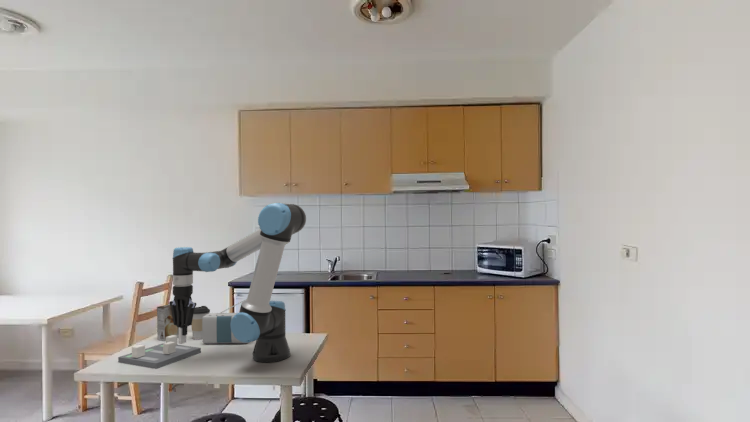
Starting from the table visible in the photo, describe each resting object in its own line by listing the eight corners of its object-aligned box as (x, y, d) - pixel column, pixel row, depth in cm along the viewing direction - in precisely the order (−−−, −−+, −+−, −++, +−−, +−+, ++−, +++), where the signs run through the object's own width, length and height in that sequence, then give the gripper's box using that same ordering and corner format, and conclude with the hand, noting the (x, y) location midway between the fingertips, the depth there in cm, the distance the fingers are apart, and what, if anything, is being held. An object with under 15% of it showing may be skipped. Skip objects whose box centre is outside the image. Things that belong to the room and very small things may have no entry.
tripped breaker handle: (175, 351, 179) (175, 342, 179) (168, 354, 176) (168, 344, 176) (170, 351, 180) (170, 341, 180) (163, 353, 177) (163, 343, 177)
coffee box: (174, 335, 216) (174, 303, 216) (182, 336, 212) (181, 304, 213) (156, 339, 208) (156, 306, 208) (164, 341, 204) (164, 307, 205)
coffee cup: (203, 340, 204) (203, 309, 205) (186, 340, 206) (186, 308, 207) (214, 335, 213) (213, 305, 214) (197, 335, 215) (197, 305, 215)
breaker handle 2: (177, 344, 190) (177, 335, 190) (170, 346, 186) (170, 337, 186) (172, 344, 191) (172, 335, 191) (165, 346, 188) (165, 337, 188)
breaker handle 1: (145, 355, 175) (145, 345, 175) (137, 357, 172) (136, 347, 172) (140, 354, 176) (140, 344, 176) (131, 357, 173) (131, 347, 173)
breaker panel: (200, 352, 186) (200, 347, 186) (156, 368, 165) (156, 363, 166) (164, 347, 195) (164, 342, 195) (118, 362, 174) (118, 356, 174)
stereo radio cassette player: (201, 345, 197) (201, 301, 198) (209, 340, 205) (208, 298, 206) (246, 344, 196) (246, 301, 197) (252, 339, 204) (251, 297, 205)
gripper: (163, 285, 175) (163, 343, 174) (187, 287, 169) (186, 347, 169) (178, 282, 182) (178, 338, 181) (201, 284, 176) (201, 342, 176)
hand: (182, 342), depth 175 cm, fingers closed
